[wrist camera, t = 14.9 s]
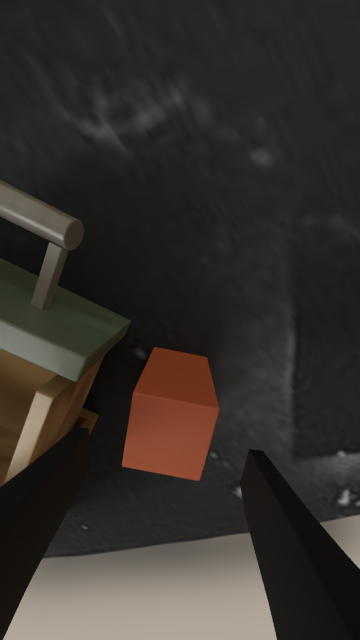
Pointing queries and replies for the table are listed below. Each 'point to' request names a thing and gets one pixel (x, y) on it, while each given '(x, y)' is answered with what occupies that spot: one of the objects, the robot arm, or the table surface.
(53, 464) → the robot arm
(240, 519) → the table surface
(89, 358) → the drawer
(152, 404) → the block
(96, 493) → the table surface
